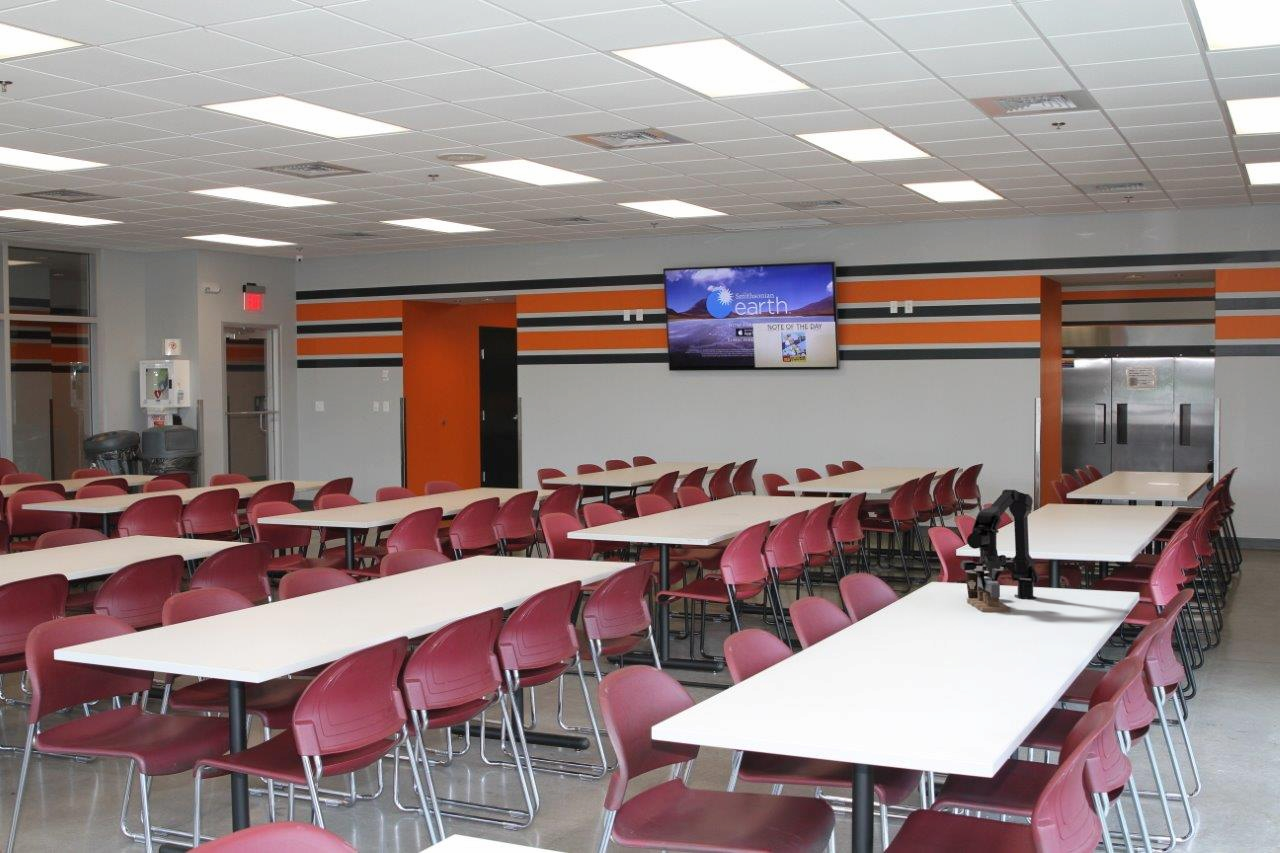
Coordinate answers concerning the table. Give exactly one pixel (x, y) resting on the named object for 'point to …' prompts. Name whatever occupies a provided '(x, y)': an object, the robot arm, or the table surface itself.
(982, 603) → the display stand
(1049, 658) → the table surface
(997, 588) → the grey bar with knobs
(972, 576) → the coffee mug
